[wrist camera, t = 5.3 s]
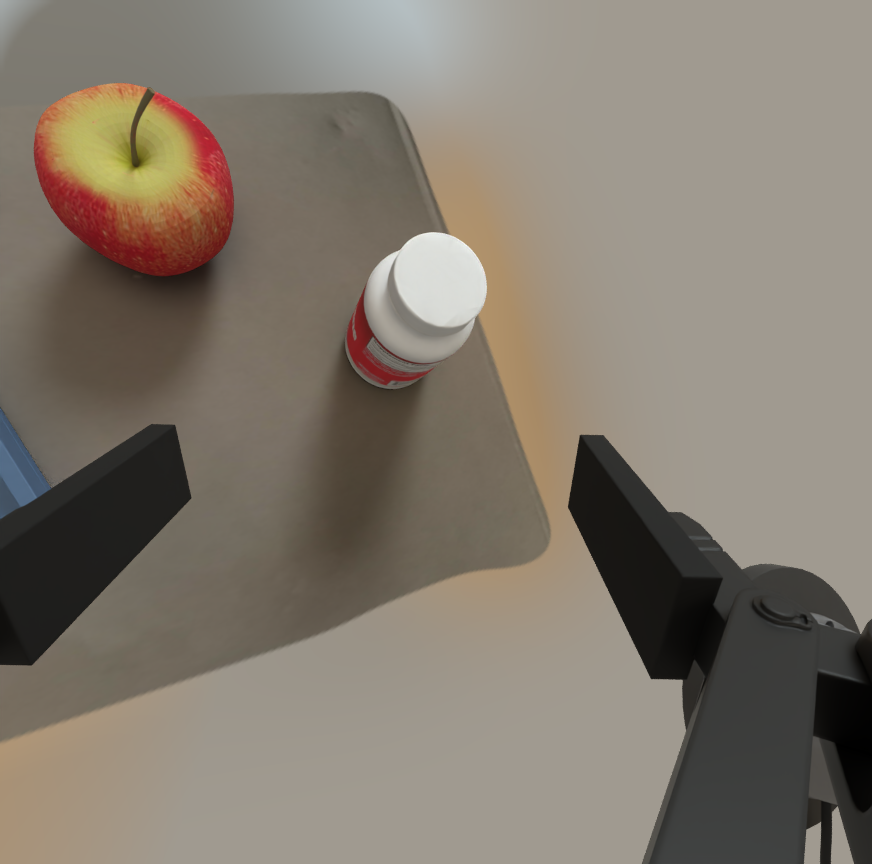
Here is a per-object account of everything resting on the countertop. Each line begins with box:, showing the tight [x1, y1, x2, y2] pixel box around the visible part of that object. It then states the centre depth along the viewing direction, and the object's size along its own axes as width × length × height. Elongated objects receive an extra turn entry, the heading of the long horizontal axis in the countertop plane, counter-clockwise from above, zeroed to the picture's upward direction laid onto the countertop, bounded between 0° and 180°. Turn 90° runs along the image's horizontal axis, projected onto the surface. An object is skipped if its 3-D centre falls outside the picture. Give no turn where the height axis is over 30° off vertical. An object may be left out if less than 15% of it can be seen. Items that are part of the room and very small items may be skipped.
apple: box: [34, 83, 234, 276], centre depth 23 cm, size 8×8×10 cm
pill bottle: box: [345, 232, 487, 389], centre depth 26 cm, size 6×6×11 cm
